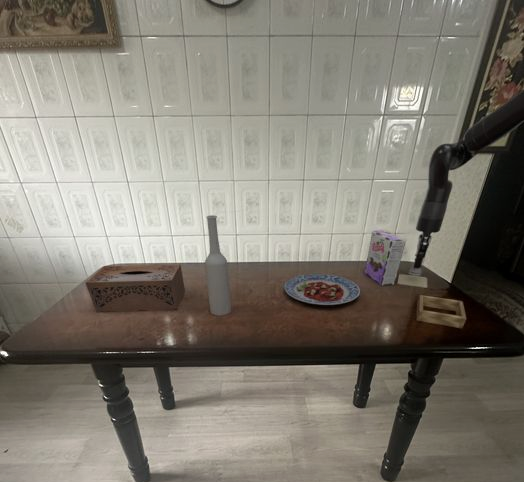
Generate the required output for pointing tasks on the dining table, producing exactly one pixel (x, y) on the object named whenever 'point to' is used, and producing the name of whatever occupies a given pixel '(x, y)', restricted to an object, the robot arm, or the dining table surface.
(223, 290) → the bottle
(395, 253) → the candy box
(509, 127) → the robot arm
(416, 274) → the rook chess piece
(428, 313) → the wooden box
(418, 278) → the felt mat
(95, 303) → the tissue box cover
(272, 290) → the dining table surface
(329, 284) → the ceramic plate
